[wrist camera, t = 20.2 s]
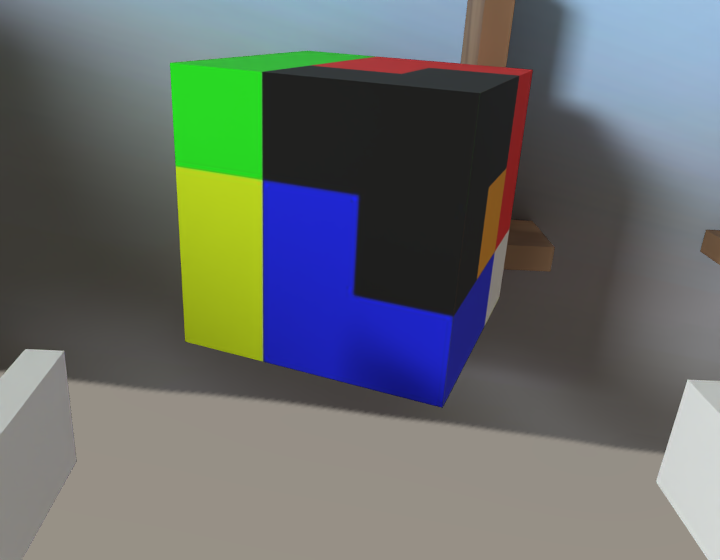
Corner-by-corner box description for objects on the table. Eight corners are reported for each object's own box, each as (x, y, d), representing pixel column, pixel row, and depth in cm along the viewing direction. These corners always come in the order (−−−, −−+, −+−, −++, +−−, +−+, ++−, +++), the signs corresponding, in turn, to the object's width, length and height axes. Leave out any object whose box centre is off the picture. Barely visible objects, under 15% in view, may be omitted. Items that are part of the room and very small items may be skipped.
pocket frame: (441, 238, 34) (452, 266, 31) (472, -39, 29) (490, -45, 26) (784, 255, 35) (836, 285, 31) (872, -12, 30) (946, -14, 26)
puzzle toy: (499, 297, 30) (442, 407, 22) (303, 258, 34) (185, 341, 25) (532, 69, 26) (480, 93, 18) (307, 50, 30) (170, 62, 21)
